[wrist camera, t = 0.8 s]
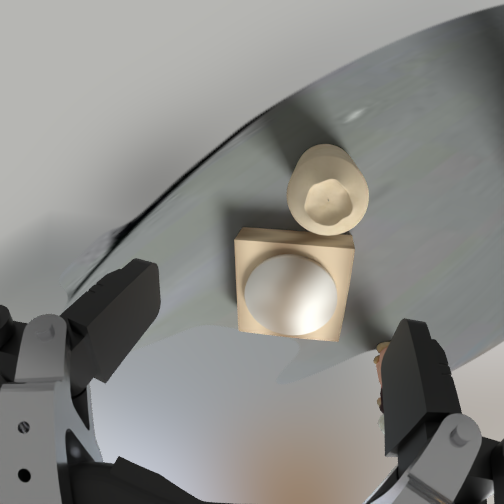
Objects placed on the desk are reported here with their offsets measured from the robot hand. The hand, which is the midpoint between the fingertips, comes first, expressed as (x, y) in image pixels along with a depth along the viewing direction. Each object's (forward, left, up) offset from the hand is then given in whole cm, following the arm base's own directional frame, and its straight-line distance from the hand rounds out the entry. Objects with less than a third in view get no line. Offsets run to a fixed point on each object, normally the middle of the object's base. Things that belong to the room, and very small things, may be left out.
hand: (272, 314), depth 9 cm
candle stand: (+1, +11, -21) cm, 23 cm away
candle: (-2, -1, -21) cm, 21 cm away
